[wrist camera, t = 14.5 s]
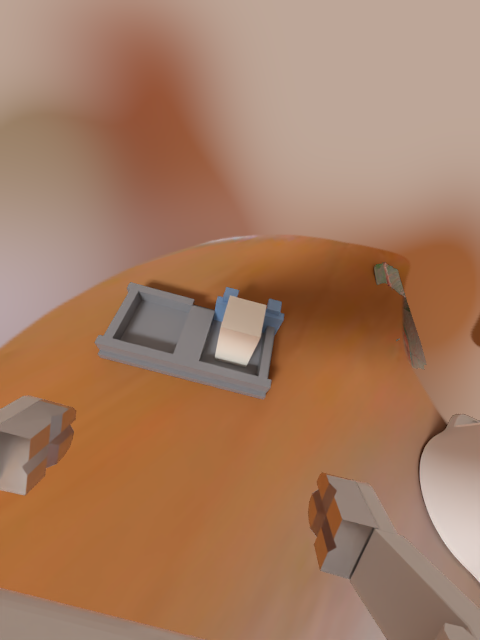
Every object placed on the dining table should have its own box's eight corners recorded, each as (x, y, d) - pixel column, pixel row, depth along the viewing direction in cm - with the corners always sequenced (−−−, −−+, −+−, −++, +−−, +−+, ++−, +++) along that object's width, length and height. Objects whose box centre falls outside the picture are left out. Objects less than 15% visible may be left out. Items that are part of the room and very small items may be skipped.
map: (393, 267, 48) (397, 264, 47) (429, 370, 37) (434, 368, 37) (369, 263, 48) (371, 259, 47) (398, 366, 37) (402, 364, 36)
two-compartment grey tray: (274, 326, 36) (287, 303, 32) (263, 399, 31) (276, 384, 26) (137, 290, 36) (129, 260, 31) (100, 357, 30) (82, 334, 25)
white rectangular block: (251, 339, 34) (266, 305, 27) (245, 367, 31) (260, 337, 25) (222, 331, 34) (229, 295, 27) (214, 359, 31) (220, 327, 25)
